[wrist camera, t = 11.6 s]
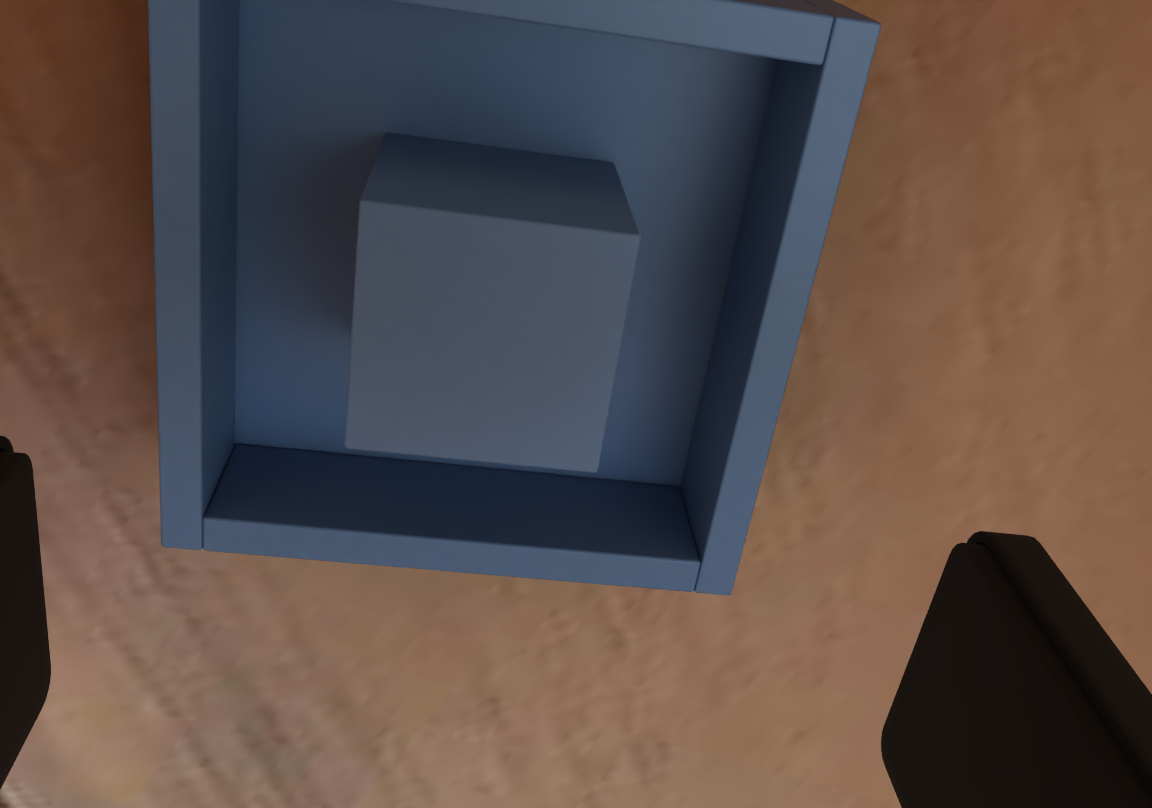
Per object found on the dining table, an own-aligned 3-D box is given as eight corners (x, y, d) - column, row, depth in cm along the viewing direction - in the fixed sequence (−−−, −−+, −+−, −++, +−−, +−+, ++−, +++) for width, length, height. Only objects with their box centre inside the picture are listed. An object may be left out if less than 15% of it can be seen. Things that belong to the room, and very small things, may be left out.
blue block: (370, 343, 23) (343, 449, 19) (385, 131, 21) (359, 200, 17) (581, 366, 24) (597, 474, 20) (614, 162, 22) (641, 235, 18)
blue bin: (204, 456, 25) (160, 548, 21) (202, -103, 19) (143, -91, 16) (703, 504, 26) (731, 596, 23) (824, -5, 21) (882, 23, 18)
